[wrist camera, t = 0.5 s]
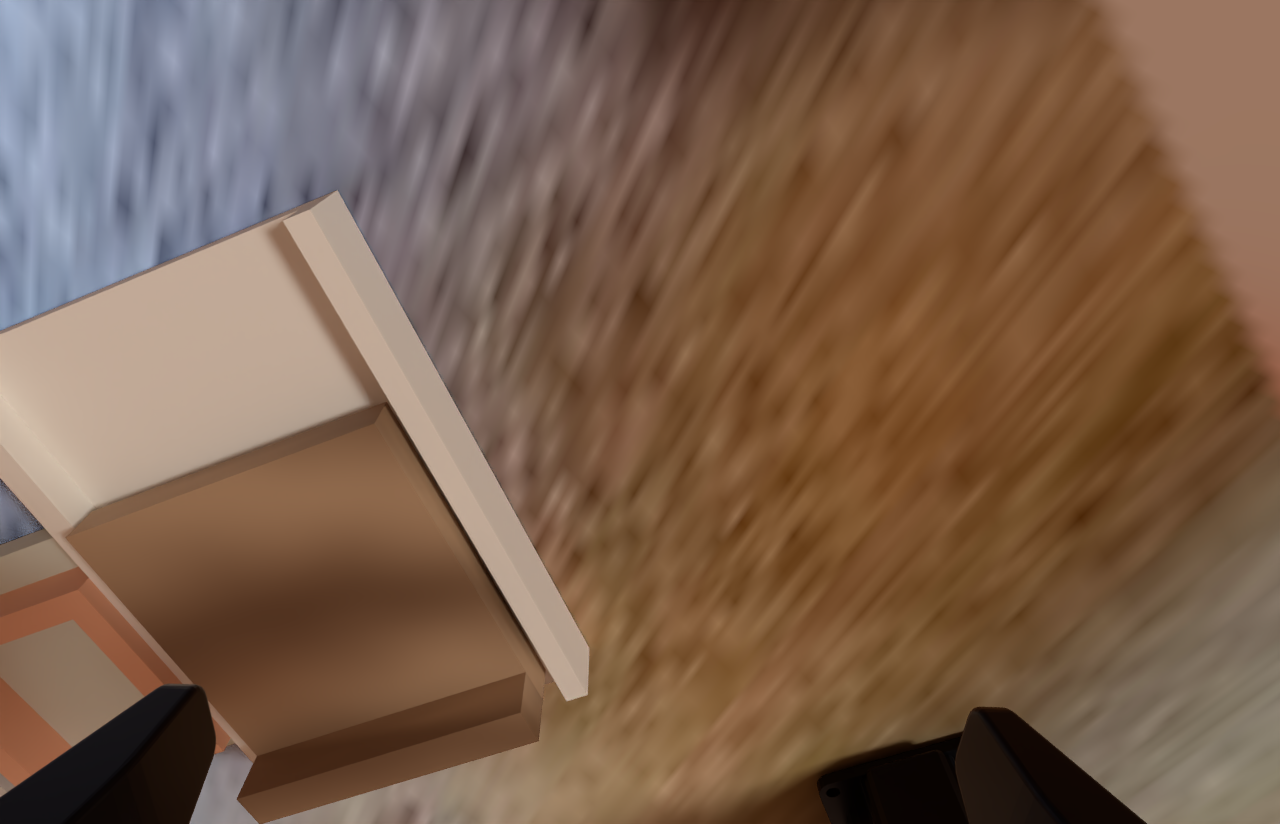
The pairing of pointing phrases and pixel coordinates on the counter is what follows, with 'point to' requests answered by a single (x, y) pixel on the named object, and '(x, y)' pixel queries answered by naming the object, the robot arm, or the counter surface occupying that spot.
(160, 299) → the housing base
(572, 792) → the counter surface
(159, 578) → the lid
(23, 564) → the board
